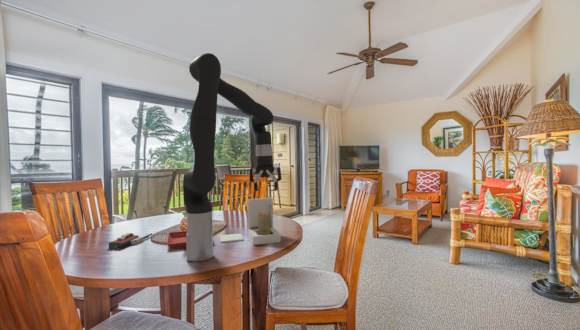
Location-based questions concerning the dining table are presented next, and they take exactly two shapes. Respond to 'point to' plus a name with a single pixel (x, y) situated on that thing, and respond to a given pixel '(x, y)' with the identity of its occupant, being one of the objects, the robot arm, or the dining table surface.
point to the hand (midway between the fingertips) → (266, 190)
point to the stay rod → (270, 215)
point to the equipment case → (253, 210)
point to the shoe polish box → (263, 223)
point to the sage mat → (231, 238)
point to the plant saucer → (177, 239)
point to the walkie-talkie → (126, 241)
